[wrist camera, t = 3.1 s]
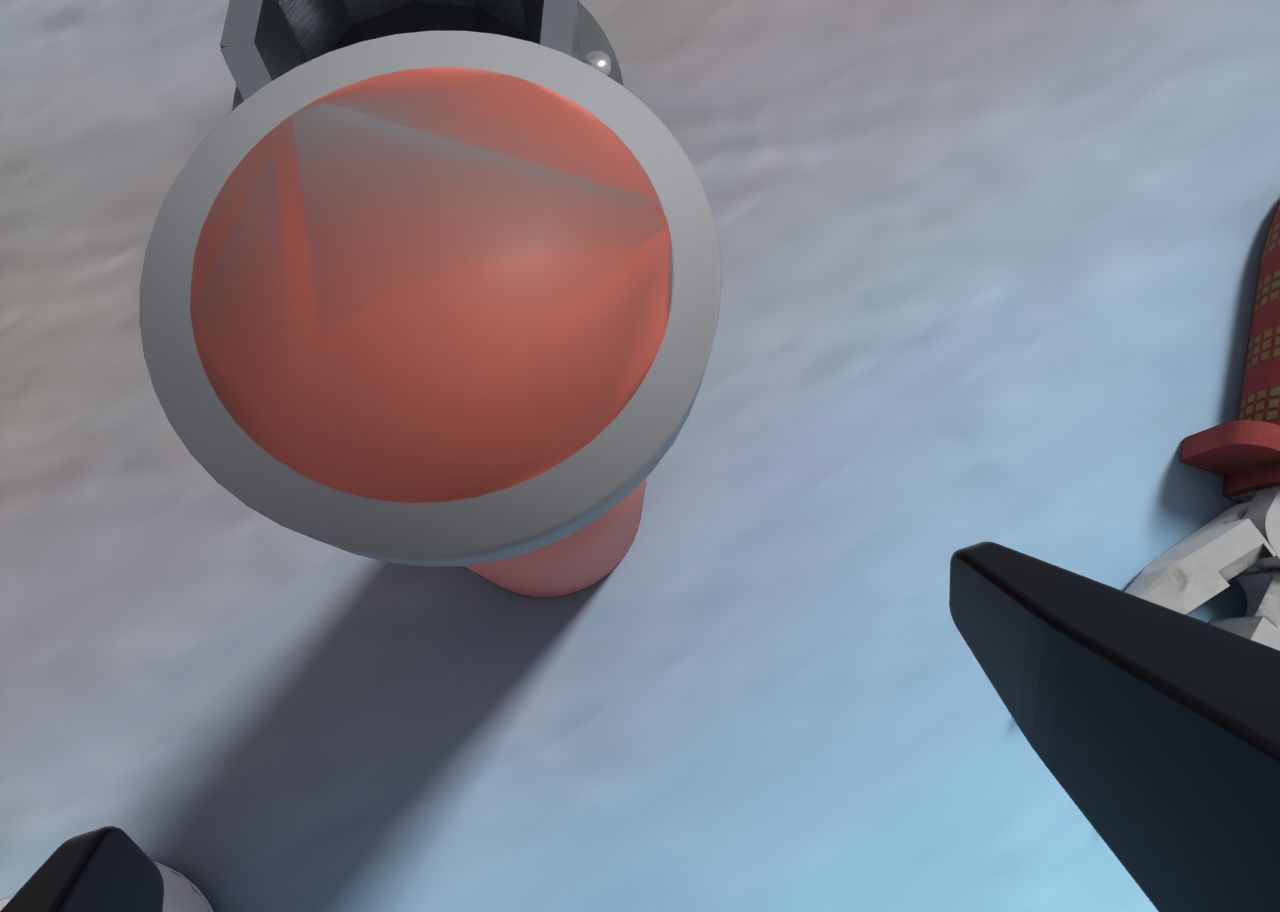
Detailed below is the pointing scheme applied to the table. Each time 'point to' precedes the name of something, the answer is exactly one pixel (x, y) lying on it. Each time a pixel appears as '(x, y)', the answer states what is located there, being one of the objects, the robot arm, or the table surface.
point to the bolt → (172, 893)
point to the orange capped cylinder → (437, 305)
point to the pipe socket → (394, 30)
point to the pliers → (1237, 488)
